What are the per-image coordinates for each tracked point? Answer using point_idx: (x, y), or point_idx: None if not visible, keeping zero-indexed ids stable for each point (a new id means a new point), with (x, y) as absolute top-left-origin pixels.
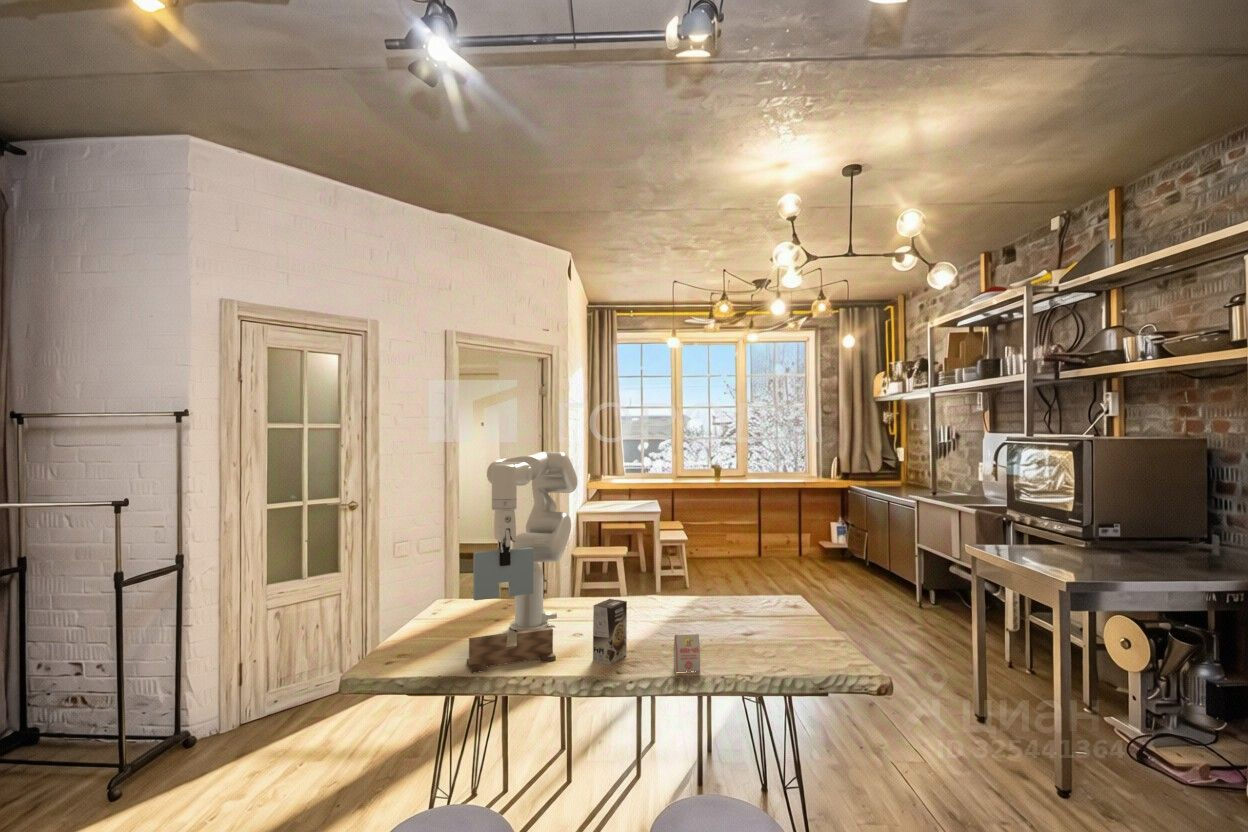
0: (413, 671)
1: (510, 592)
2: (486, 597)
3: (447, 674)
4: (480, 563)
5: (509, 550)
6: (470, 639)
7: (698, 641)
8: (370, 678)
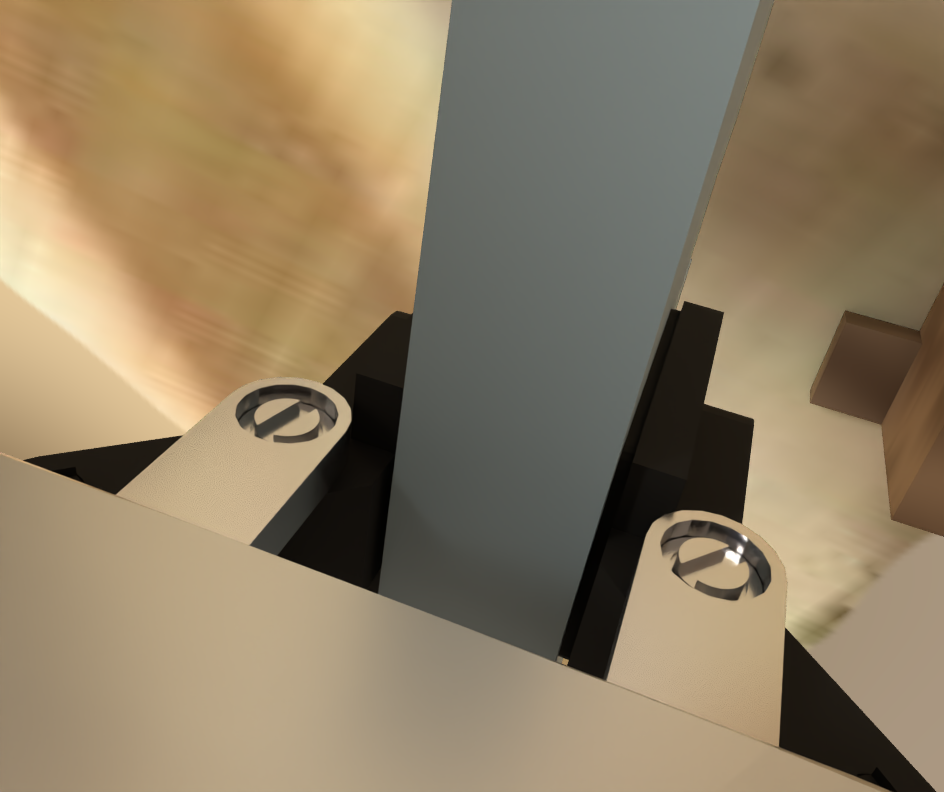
0: None
1: (734, 124)
2: None
3: (893, 538)
4: None
5: (775, 616)
6: (931, 527)
7: None
8: None
